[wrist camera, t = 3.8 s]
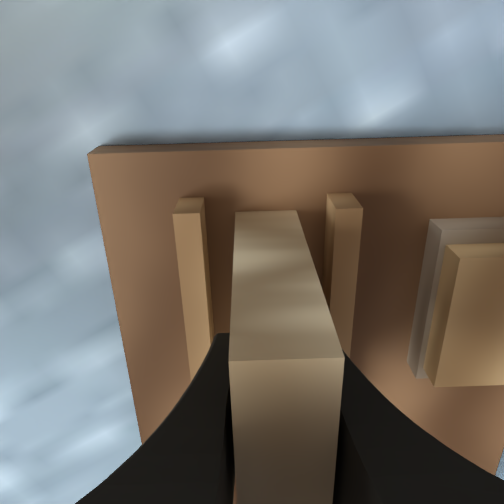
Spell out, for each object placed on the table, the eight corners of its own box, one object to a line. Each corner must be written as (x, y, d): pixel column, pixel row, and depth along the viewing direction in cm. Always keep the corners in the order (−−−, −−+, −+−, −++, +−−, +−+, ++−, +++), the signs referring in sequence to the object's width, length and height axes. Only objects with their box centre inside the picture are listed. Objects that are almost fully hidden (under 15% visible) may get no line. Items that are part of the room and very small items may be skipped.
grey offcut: (548, 215, 14) (568, 226, 14) (507, 357, 17) (522, 375, 16) (429, 219, 14) (442, 230, 14) (406, 361, 17) (416, 378, 16)
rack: (574, 132, 14) (642, 149, 12) (457, 537, 24) (482, 592, 21) (98, 146, 14) (69, 165, 12) (169, 547, 24) (161, 604, 21)
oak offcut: (557, 241, 14) (580, 255, 13) (520, 365, 16) (537, 383, 15) (445, 244, 14) (460, 258, 13) (423, 368, 16) (434, 387, 15)
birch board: (295, 210, 14) (344, 357, 7) (292, 375, 17) (325, 588, 10) (235, 211, 14) (228, 361, 7) (242, 377, 17) (242, 592, 10)
